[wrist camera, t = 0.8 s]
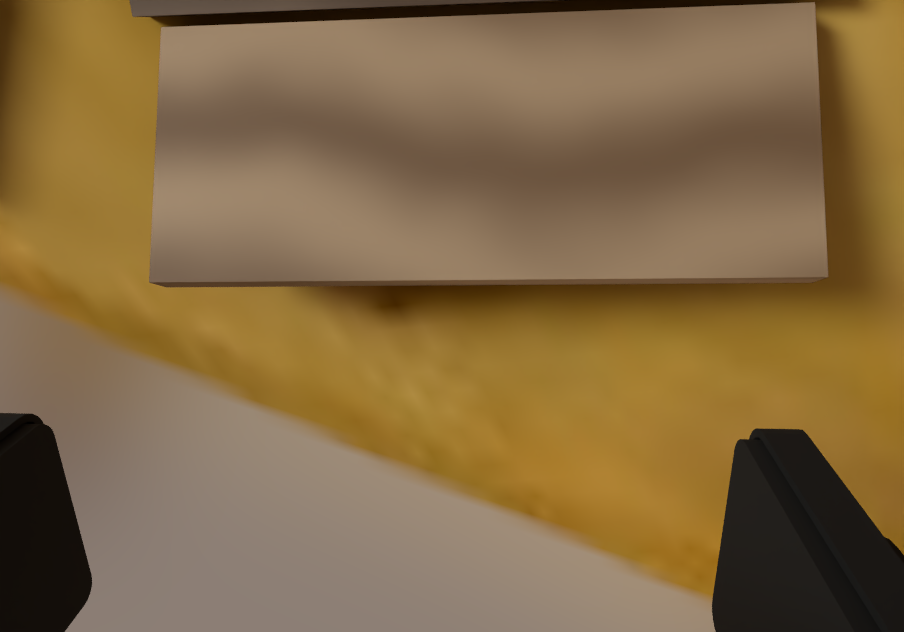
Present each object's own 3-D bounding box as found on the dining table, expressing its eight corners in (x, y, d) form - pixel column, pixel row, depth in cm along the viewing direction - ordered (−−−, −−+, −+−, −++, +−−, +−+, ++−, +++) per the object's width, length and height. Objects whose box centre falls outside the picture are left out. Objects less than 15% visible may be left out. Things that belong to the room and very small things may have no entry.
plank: (177, 35, 26) (161, 18, 25) (799, 12, 24) (814, -7, 23) (166, 287, 25) (149, 282, 24) (812, 282, 23) (828, 277, 22)
